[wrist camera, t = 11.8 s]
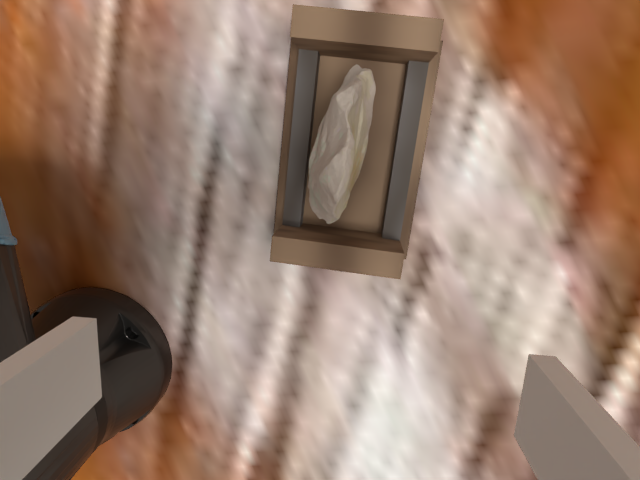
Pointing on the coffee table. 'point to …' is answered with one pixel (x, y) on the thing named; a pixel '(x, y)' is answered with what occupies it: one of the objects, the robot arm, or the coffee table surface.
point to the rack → (383, 138)
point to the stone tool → (341, 145)
